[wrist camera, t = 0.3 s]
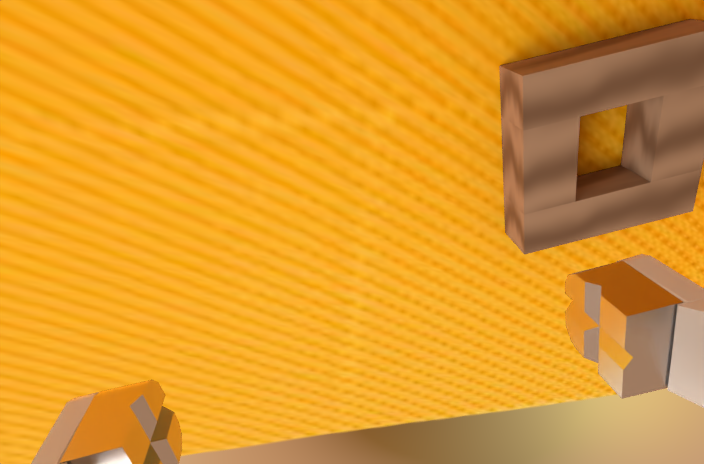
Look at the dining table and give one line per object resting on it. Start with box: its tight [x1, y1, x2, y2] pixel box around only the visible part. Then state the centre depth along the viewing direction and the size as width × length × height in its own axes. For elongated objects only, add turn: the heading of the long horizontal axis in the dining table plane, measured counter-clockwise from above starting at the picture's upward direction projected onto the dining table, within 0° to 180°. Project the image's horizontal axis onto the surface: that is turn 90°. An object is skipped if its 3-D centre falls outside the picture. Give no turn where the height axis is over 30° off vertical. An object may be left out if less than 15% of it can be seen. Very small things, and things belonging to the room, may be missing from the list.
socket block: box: [500, 19, 704, 254], centre depth 50 cm, size 20×20×5 cm
